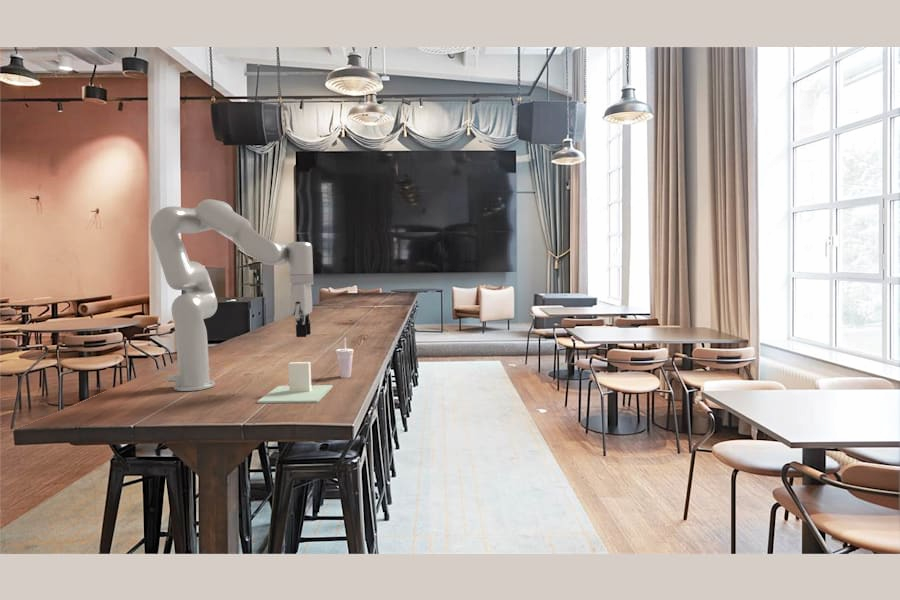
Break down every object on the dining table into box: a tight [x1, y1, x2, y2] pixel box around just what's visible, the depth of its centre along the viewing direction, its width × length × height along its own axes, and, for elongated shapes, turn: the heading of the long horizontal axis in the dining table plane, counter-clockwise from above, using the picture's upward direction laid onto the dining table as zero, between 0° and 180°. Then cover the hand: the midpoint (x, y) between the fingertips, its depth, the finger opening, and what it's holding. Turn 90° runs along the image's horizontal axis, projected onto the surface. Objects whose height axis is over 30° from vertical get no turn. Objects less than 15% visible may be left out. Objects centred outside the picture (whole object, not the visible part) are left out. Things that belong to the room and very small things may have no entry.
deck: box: [287, 361, 312, 392], centre depth 184 cm, size 6×2×9 cm, turn 89°
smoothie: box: [335, 337, 354, 379], centre depth 207 cm, size 6×6×14 cm
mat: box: [256, 384, 333, 404], centre depth 182 cm, size 18×20×1 cm
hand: (303, 335), depth 190 cm, fingers open, 4 cm apart
